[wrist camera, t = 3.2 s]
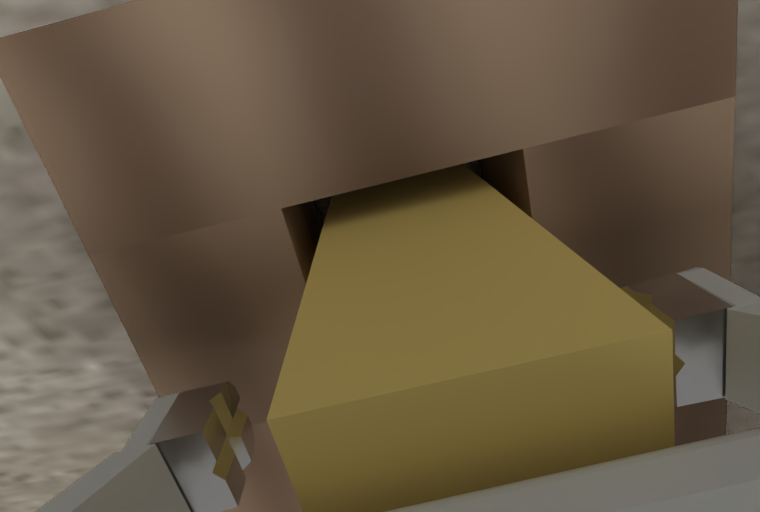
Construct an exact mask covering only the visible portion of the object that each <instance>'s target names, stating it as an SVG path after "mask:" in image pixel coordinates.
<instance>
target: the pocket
mask: <svg viewBox="0 0 760 512" xmlns="http://www.w3.org/2000/svg"><path fill="white" fill-rule="evenodd" d="M737 17H738V0H136V1H133V2H129V3H125V4H122V5H118V6H114V7H111V8H107V9H104V10H100V11H96V12H93V13H89V14H85V15H82V16H78V17H74V18H71V19H67V20H64V21H60V22H56V23H53V24H49V25H45V26H42V27H38V28H34V29H31V30H27V31H24V32H20V33H16V34H13V35H9V36H5V37H2V38H0V77H1V79H2V81H3V83H4V85H5V87H6V89H7V91H8V93H9V95H10V97H11V99H12V101H13V103H14V105H15V107H16V109H17V111H18V114H19V116H20V118H21V120H22V122H23V124H24V126H25V128H26V130H27V132H28V134H29V136H30V138H31V140H32V142H33V144H34V146H35V148H36V150H37V152H38V154H39V156H40V158H41V160H42V162H43V164H44V166H45V168H46V170H47V172H48V174H49V176H50V178H51V180H52V182H53V184H54V186H55V188H56V190H57V192H58V194H59V196H60V198H61V200H62V202H63V204H64V206H65V208H66V210H67V212H68V214H69V216H70V218H71V220H72V222H73V225H74V227H75V229H76V231H77V233H78V235H79V237H80V239H81V241H82V243H83V245H84V247H85V249H86V251H87V253H88V255H89V257H90V259H91V261H92V263H93V265H94V267H95V269H96V271H97V273H98V275H99V277H100V279H101V281H102V283H103V285H104V287H105V289H106V291H107V293H108V295H109V297H110V299H111V301H112V303H113V305H114V307H115V309H116V311H117V313H118V315H119V317H120V319H121V321H122V323H123V325H124V327H125V329H126V331H127V334H128V336H129V338H130V340H131V342H132V344H133V346H134V348H135V350H136V352H137V354H138V356H139V358H140V360H141V362H142V364H143V366H144V368H145V370H146V372H147V374H148V376H149V378H150V380H151V382H152V384H153V386H154V388H155V390H156V392H157V394H158V396H159V397H162V396H165V395H169V394H173V393H177V392H180V391H182V392H183V391H186V390H191V389H196V388H200V387H205V386H209V385H214V384H218V383H223V382H227V381H229V382H231V383H232V384H234V385H235V387H236V389H237V392H238V394H239V396H240V400H239V403H238V406H237V408H238V409H239V410H241V411H243V412H244V413H246V414H247V415H248V417H249V419H250V422H251V424H252V428H253V432H254V453H253V457H252V461H251V462H250V463H249V464H248V465H247V466H246V467H245V468H244V469H243V472H244V475H245V477H246V482H245V485H244V488H243V492H242V495H241V499H240V502H239V506H238V507H236V508H232V509H228V510H224V511H221V512H303V509H302V507H301V504H300V502H299V499H298V497H297V494H296V492H295V489H294V487H293V485H292V482H291V480H290V477H289V475H288V472H287V470H286V467H285V465H284V462H283V460H282V457H281V455H280V452H279V450H278V447H277V445H276V443H275V440H274V438H273V435H272V433H271V430H270V428H269V425H268V423H267V416H268V413H269V410H270V406H271V403H272V399H273V396H274V392H275V389H276V386H277V382H278V379H279V375H280V372H281V368H282V365H283V361H284V358H285V355H286V351H287V348H288V344H289V341H290V337H291V334H292V331H293V327H294V324H295V320H296V317H297V313H298V310H299V307H300V303H301V300H302V296H303V293H304V289H305V286H306V283H307V279H308V276H309V272H310V269H311V265H312V262H313V258H314V255H315V252H316V248H317V245H318V241H319V238H320V234H321V231H322V227H321V224H320V220H319V217H318V214H317V210H316V207H315V204H314V200H318V199H322V198H326V197H330V196H334V195H338V194H342V193H346V192H350V191H354V190H358V189H362V188H366V187H370V186H374V185H378V184H383V183H387V182H391V181H395V180H399V179H403V178H407V177H411V176H415V175H419V174H423V173H427V172H431V171H435V170H439V169H443V168H447V167H451V166H456V165H460V164H464V163H468V162H472V161H476V160H481V166H482V172H483V178H484V181H485V182H487V183H488V184H489V185H490V186H492V187H493V188H494V189H496V190H497V191H498V192H499V193H501V194H502V195H503V196H504V197H506V198H507V199H508V200H509V201H511V202H512V203H513V204H514V205H516V206H517V207H518V208H519V209H521V210H522V211H523V212H524V213H526V214H527V215H528V216H530V217H531V218H532V219H533V220H535V221H536V222H537V223H538V224H540V225H541V226H542V227H543V228H545V229H546V230H547V231H548V232H550V233H551V234H552V235H553V236H555V237H556V238H557V239H558V240H560V241H561V242H562V243H564V244H565V245H566V246H567V247H569V248H570V249H571V250H572V251H574V252H575V253H576V254H577V255H579V256H580V257H581V258H582V259H584V260H585V261H586V262H587V263H589V264H590V265H591V266H593V267H594V268H595V269H596V270H598V271H599V272H600V273H601V274H603V275H604V276H605V277H606V278H608V279H609V280H610V281H611V282H613V283H614V284H615V285H616V286H618V287H619V288H620V289H621V288H623V287H625V286H629V285H632V284H636V283H640V282H644V281H647V280H651V279H655V278H659V277H662V276H666V275H670V274H674V273H678V272H681V271H685V270H688V269H692V268H695V267H698V268H705V269H707V270H709V271H711V272H713V273H715V274H717V275H719V276H721V277H722V278H724V279H726V280H728V281H730V270H731V234H732V197H733V161H734V125H735V89H736V53H737ZM726 414H727V400H725V397H724V398H719V399H714V400H709V401H704V402H699V403H694V404H689V405H684V406H679V407H677V406H676V405H675V404H674V428H675V446H679V445H684V444H688V443H692V442H697V441H701V440H706V439H710V438H715V437H719V436H724V435H726Z"/></svg>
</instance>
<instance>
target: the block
mask: <svg viewBox="0 0 760 512" xmlns="http://www.w3.org/2000/svg"><path fill="white" fill-rule="evenodd" d="M267 423H268V425H269V428H270V430H271V433H272V435H273V438H274V440H275V443H276V445H277V447H278V450H279V452H280V455H281V457H282V460H283V462H284V465H285V467H286V470H287V472H288V475H289V477H290V480H291V482H292V485H293V487H294V489H295V492H296V494H297V497H298V499H299V502H300V504H301V507H302V509H303V512H385V511H389V510H394V509H398V508H403V507H407V506H412V505H416V504H421V503H425V502H430V501H434V500H438V499H443V498H447V497H452V496H456V495H461V494H465V493H470V492H474V491H479V490H483V489H488V488H492V487H496V486H501V485H505V484H510V483H514V482H519V481H523V480H528V479H532V478H537V477H541V476H546V475H550V474H554V473H559V472H563V471H568V470H572V469H577V468H581V467H586V466H590V465H594V464H599V463H603V462H608V461H612V460H617V459H621V458H626V457H630V456H635V455H639V454H643V453H648V452H652V451H657V450H661V449H666V448H670V447H675V428H674V382H673V337H672V329H671V328H669V327H668V326H667V325H666V324H664V323H663V322H662V321H661V320H659V319H658V318H657V317H655V316H654V315H653V314H652V313H650V312H649V311H648V310H647V309H645V308H644V307H643V306H642V305H640V304H639V303H638V302H637V301H635V300H634V299H633V298H632V297H630V296H629V295H628V294H627V293H625V292H624V291H623V290H621V289H620V288H619V287H618V286H616V285H615V284H614V283H613V282H611V281H610V280H609V279H608V278H606V277H605V276H604V275H603V274H601V273H600V272H599V271H598V270H596V269H595V268H594V267H593V266H591V265H590V264H589V263H587V262H586V261H585V260H584V259H582V258H581V257H580V256H579V255H577V254H576V253H575V252H574V251H572V250H571V249H570V248H569V247H567V246H566V245H565V244H564V243H562V242H561V241H560V240H558V239H557V238H556V237H555V236H553V235H552V234H551V233H550V232H548V231H547V230H546V229H545V228H543V227H542V226H541V225H540V224H538V223H537V222H536V221H535V220H533V219H532V218H531V217H530V216H528V215H527V214H526V213H524V212H523V211H522V210H521V209H519V208H518V207H517V206H516V205H514V204H513V203H512V202H511V201H509V200H508V199H507V198H506V197H504V196H503V195H502V194H501V193H499V192H498V191H497V190H496V189H494V188H493V187H492V186H490V185H489V184H488V183H487V182H485V181H484V180H483V179H482V178H480V177H479V176H478V175H477V174H475V173H474V172H473V171H472V170H470V169H469V168H468V167H467V166H465V165H464V164H460V165H456V166H451V167H447V168H443V169H439V170H435V171H431V172H427V173H423V174H419V175H415V176H411V177H407V178H403V179H399V180H395V181H391V182H387V183H383V184H378V185H374V186H370V187H366V188H362V189H358V190H354V191H350V192H346V193H342V194H338V195H334V196H332V197H331V200H330V204H329V207H328V210H327V214H326V217H325V221H324V224H323V228H322V231H321V234H320V238H319V241H318V245H317V248H316V252H315V255H314V258H313V262H312V265H311V269H310V272H309V276H308V279H307V283H306V286H305V289H304V293H303V296H302V300H301V303H300V307H299V310H298V313H297V317H296V320H295V324H294V327H293V331H292V334H291V337H290V341H289V344H288V348H287V351H286V355H285V358H284V361H283V365H282V368H281V372H280V375H279V379H278V382H277V386H276V389H275V392H274V396H273V399H272V403H271V406H270V410H269V413H268V416H267Z"/></svg>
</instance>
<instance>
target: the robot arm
mask: <svg viewBox="0 0 760 512" xmlns="http://www.w3.org/2000/svg"><path fill="white" fill-rule="evenodd" d="M621 290H623V291H624V292H625V293H627V294H628V295H629V296H630V297H632V298H633V299H634V300H635V301H637V302H638V303H639V304H640V305H642V306H643V307H644V308H645V309H647V310H648V311H649V312H650V313H652V314H653V315H654V316H655V317H657V318H658V319H659V320H661V321H662V322H663V323H664V324H666V325H667V326H668V327H669V328H671V329H672V337H673V382H674V404H675V405H676V406H677V407H679V406H684V405H689V404H694V403H699V402H704V401H709V400H714V399H719V398H724V397H725V400H728V401H730V402H732V403H735V404H737V405H739V406H742V407H744V408H746V409H749V410H751V411H753V412H756V413H758V414H760V297H759V296H757V295H755V294H753V293H751V292H750V291H748V290H746V289H744V288H742V287H740V286H738V285H736V284H734V283H732V282H730V281H728V280H726V279H724V278H722V277H721V276H719V275H717V274H715V273H713V272H711V271H709V270H707V269H705V268H698V267H695V268H692V269H688V270H685V271H681V272H678V273H674V274H670V275H666V276H662V277H659V278H655V279H651V280H647V281H644V282H640V283H636V284H632V285H629V286H625V287H623V288H621ZM239 400H240V396H239V394H238V392H237V389H236V387H235V385H234V384H232V383H231V382H229V381H227V382H223V383H218V384H214V385H209V386H205V387H200V388H196V389H191V390H186V391H183V392H182V391H180V392H177V393H173V394H169V395H165V396H162V397H159V398H157V399H155V401H154V402H153V404H152V405H151V407H150V408H149V410H148V411H147V413H146V414H145V416H144V417H143V419H142V420H141V422H140V424H139V425H138V427H137V428H136V430H135V431H134V433H133V434H132V436H131V437H130V439H129V440H128V442H127V443H126V445H125V446H124V448H123V449H122V451H121V452H117V453H113V454H112V455H111V456H109V457H108V458H107V459H105V460H104V461H102V462H101V463H100V464H98V465H97V466H96V467H94V468H93V469H92V470H90V471H89V472H88V473H86V474H85V475H84V476H82V477H81V478H80V479H78V480H77V481H76V482H74V483H73V484H72V485H70V486H69V487H68V488H66V489H65V490H64V491H62V492H61V493H60V494H58V495H57V496H56V497H54V498H53V499H52V500H50V501H49V502H47V503H46V504H45V505H43V506H42V507H41V508H39V509H38V510H37V511H35V512H221V511H224V510H228V509H232V508H236V507H238V506H239V502H240V499H241V495H242V492H243V488H244V485H245V482H246V477H245V475H244V472H243V469H244V468H245V467H246V466H247V465H248V464H249V463H250V462H251V461H252V457H253V453H254V432H253V428H252V424H251V422H250V419H249V417H248V415H247V414H246V413H244V412H243V411H241V410H239V409H238V408H237V406H238V403H239ZM385 512H760V427H759V428H755V429H750V430H746V431H741V432H737V433H732V434H728V435H724V436H719V437H715V438H710V439H706V440H701V441H697V442H692V443H688V444H684V445H679V446H675V447H670V448H666V449H661V450H657V451H652V452H648V453H643V454H639V455H635V456H630V457H626V458H621V459H617V460H612V461H608V462H603V463H599V464H594V465H590V466H586V467H581V468H577V469H572V470H568V471H563V472H559V473H554V474H550V475H546V476H541V477H537V478H532V479H528V480H523V481H519V482H514V483H510V484H505V485H501V486H496V487H492V488H488V489H483V490H479V491H474V492H470V493H465V494H461V495H456V496H452V497H447V498H443V499H438V500H434V501H430V502H425V503H421V504H416V505H412V506H407V507H403V508H398V509H394V510H389V511H385Z"/></svg>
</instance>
